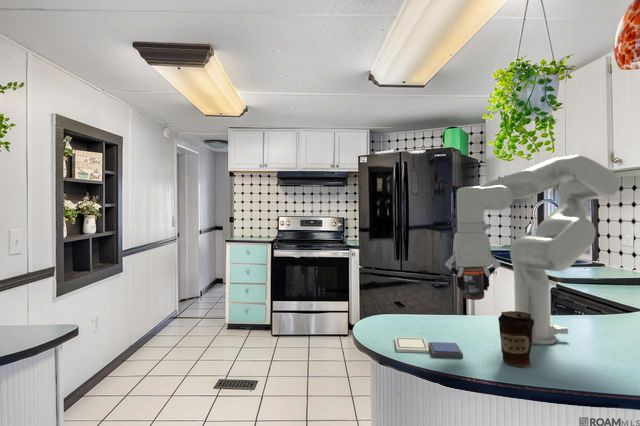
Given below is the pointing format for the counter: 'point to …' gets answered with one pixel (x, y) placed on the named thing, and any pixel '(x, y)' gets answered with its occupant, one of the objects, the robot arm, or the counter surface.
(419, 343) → the board
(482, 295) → the supplement bottle
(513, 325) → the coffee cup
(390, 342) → the counter surface
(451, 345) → the ink pad
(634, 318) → the counter surface
